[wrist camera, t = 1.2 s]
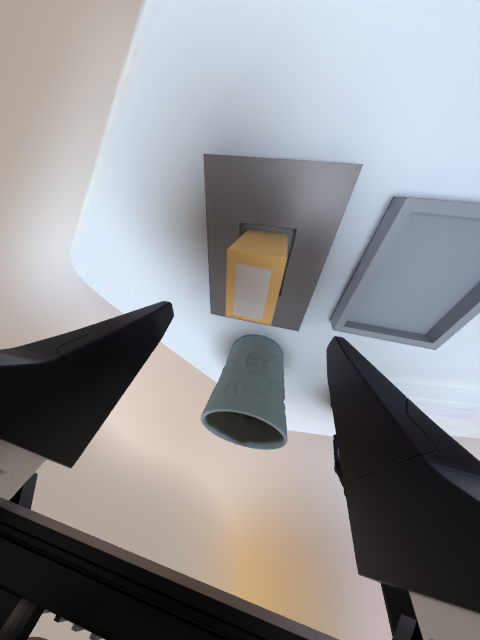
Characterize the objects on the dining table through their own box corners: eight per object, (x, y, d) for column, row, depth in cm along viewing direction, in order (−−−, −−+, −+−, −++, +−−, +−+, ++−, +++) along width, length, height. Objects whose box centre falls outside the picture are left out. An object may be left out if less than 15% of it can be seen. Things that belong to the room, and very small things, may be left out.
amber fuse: (276, 284, 20) (270, 329, 14) (244, 279, 21) (223, 320, 14) (288, 233, 17) (287, 261, 10) (249, 228, 17) (224, 251, 11)
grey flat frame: (297, 324, 23) (298, 331, 22) (214, 307, 25) (210, 313, 23) (356, 166, 13) (363, 164, 12) (210, 156, 15) (203, 153, 14)
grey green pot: (288, 332, 24) (287, 420, 15) (287, 375, 30) (287, 458, 21) (222, 331, 27) (188, 403, 18) (233, 370, 33) (212, 441, 24)
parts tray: (424, 337, 20) (435, 349, 19) (330, 320, 22) (333, 330, 20) (557, 211, 12) (596, 214, 11) (393, 196, 14) (407, 197, 12)
